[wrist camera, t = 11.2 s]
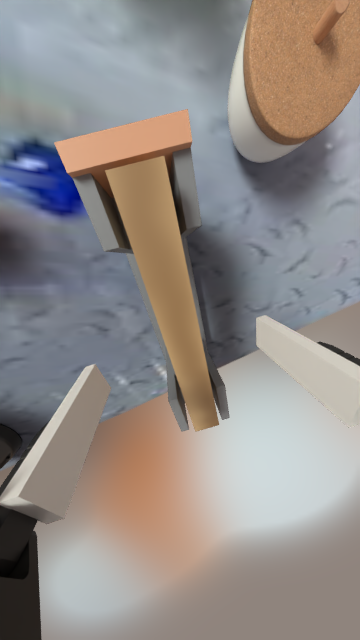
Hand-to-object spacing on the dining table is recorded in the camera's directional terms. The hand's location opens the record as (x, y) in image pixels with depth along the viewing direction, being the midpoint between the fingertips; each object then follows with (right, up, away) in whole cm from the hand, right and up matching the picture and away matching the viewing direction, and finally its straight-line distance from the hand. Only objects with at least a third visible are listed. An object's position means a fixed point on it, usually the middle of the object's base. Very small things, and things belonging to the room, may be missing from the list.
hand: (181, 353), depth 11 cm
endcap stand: (-2, +6, +14) cm, 16 cm away
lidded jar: (+9, +27, +6) cm, 30 cm away
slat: (0, +2, +6) cm, 7 cm away
